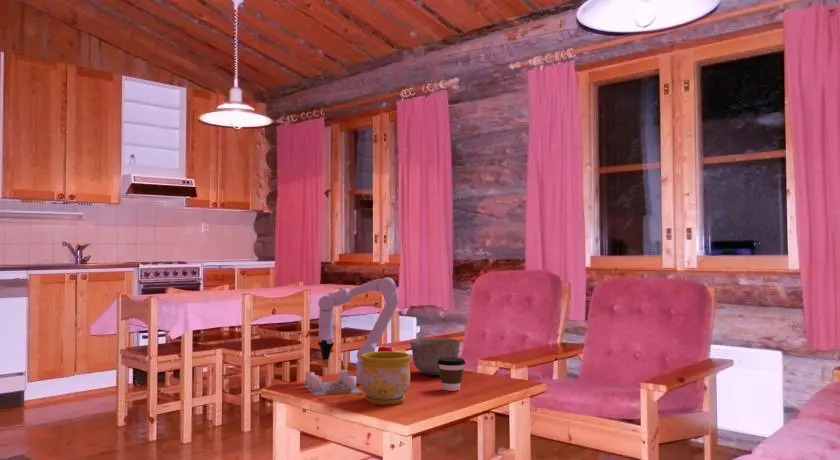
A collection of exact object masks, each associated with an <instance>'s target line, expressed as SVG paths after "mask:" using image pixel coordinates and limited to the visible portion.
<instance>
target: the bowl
mask: <svg viewBox="0 0 840 460" xmlns="http://www.w3.org/2000/svg"><path fill="white" fill-rule="evenodd" d="M409 343H410V346H411V347H410V349H411V353H412V362H413V364H414V367H416V369H417V370H418V371H420V372H421V373H423V374H425V375H428V376H433V375H438V376H440V371H439V364H438V363H437V361H438V359H439V358H444V357H457V358H458V356H459V355H458V354H459V353H460V352H461V351H460V347H461V341H460V340H458V339H453V338H431V337H428V338H426V337H424V338H423V337H422V338H412V339H409Z"/></svg>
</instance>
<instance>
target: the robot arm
mask: <svg viewBox="0 0 840 460" xmlns="http://www.w3.org/2000/svg"><path fill="white" fill-rule="evenodd" d="M370 291H372V292H378V291H379V292H380V294H381V295H382V296H383V298H384V301H385V304H384V306H383V308H382V310H381V312H380V314H379V316H378V318H377V319H376V321H375V324H374V325H373V327H372V329H371V330H370V332H369V335H368V337H367V339H366V341H365V342H364V344H363V345H362V346H360V348H359V349H358V351H357V353H356V358H357V361H356V385H361V368H362V364H361V363H362V359H361V355H362V354H364V353H368V352H376V351H375V350H376V347H377V345H378V344H379V342H380V340H381V337H382V336H383V334H384V332H385V330H386V328H387V326H388V324H389V323H390V321H391V318H392V317H393V315H394V313H395V311H396V309H397V308H398V307H397V306H399V294H398V286H397V284H396V282H395V280H394V279H393V278H392V277H389V276H387V277H386V276H385V277H383V278H378V279H372V280H369V281H367V282H366V283H363V284H361V285H359V286H356V287H354V288H353V287H352V288H351V289H349V288H346V287H344V288H343V287H340V288H339V290H337V291H333V292H329V293H328V295H323V296H322V297H320V298H319V300H318V307H319V314H318V336H315V339H317V340H321V341H318V342H317V344H318V346H319V349H320V352H321V358H322V360H323V361H329V359H330V356H331V351H332V348H333V346H334V345H335V342H333V339H334V337H335V336H334V307H339V306H342V305H345V304H347V303H350V302H351V301H352V299H353V298H354V297H356V296H358V295H361V294H364V293H367V292H370Z"/></svg>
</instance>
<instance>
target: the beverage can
mask: <svg viewBox="0 0 840 460" xmlns="http://www.w3.org/2000/svg"><path fill="white" fill-rule="evenodd" d="M380 351H390V352H393V349H392V346H391V345H385V344H384V345H379V346H378V349H377V352H380Z"/></svg>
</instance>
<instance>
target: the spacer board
mask: <svg viewBox="0 0 840 460" xmlns="http://www.w3.org/2000/svg"><path fill="white" fill-rule="evenodd" d="M304 376H305V377H304V379H305V380H304V383H303V386H305V388H306V389H307V390H309V392H310V393H311V394H313V396H323V395H324V396H325V395H326V396H331V395H332V396H333V395H346V394H354V393H355V394H356V393H359V394H357V396H360V395H361V396H362V395H363V393H362V392H363V391H362V390H360V389H359V388H357V375H356V376H355V375H353V373H350V372H349V370H346V369H344V370H343V369H341V370H340V369H339V370H338V381H328V382H327V381H326V382H325V381H324V382H322V380H323V379H322V378H321V377H319V375H315V372H314V371H307V372H305V374H304ZM331 384H343V385H344V389H334V390H330V385H331Z"/></svg>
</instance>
